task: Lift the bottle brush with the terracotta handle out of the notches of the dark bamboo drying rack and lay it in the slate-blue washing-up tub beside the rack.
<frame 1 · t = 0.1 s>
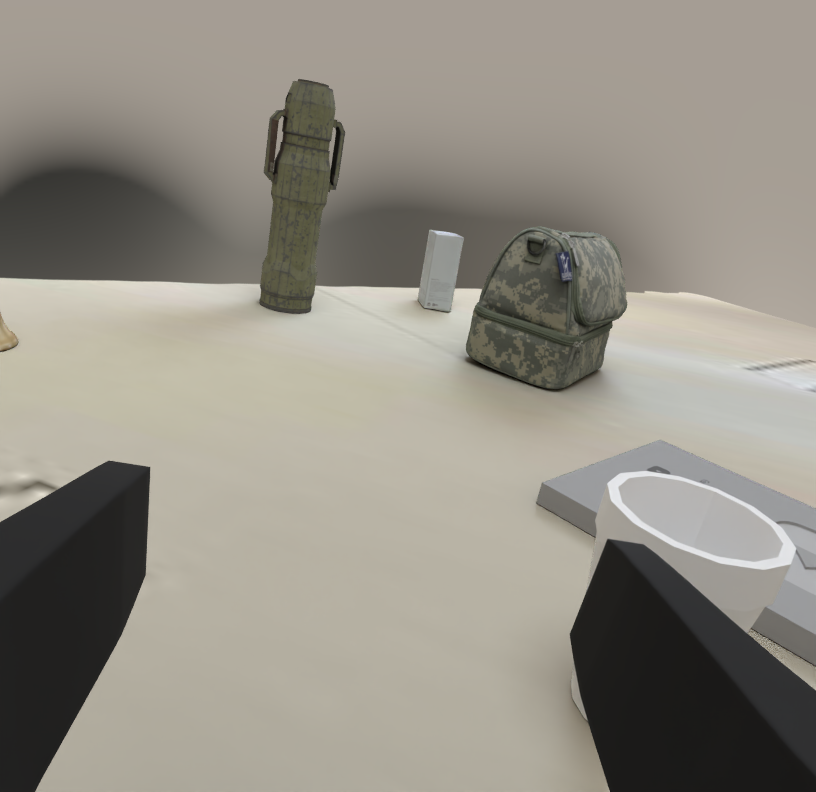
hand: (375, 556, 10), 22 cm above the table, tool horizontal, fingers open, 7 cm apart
lunch bag: (535, 367, 106), on the table
foam cup: (622, 707, 39), on the table
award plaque: (744, 551, 60), on the table
cosmetic box: (432, 306, 135), on the table
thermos: (284, 307, 112), on the table
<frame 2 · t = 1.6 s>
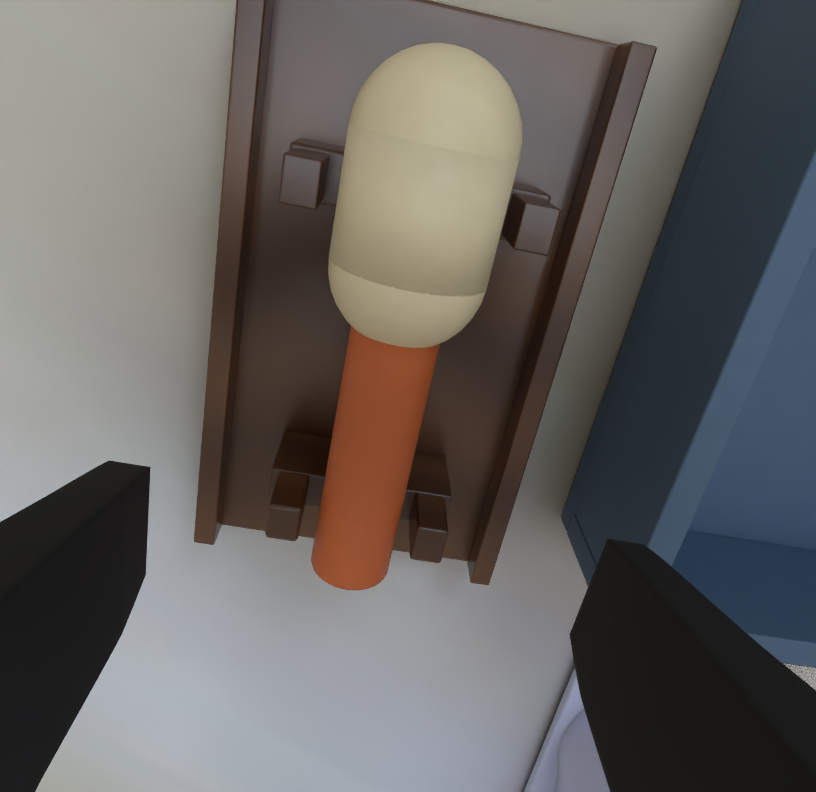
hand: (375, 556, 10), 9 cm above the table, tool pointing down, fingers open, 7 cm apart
drying rack: (390, 311, 18), on the table
bottle brush: (393, 344, 15), point 4 cm above the table, touching drying rack
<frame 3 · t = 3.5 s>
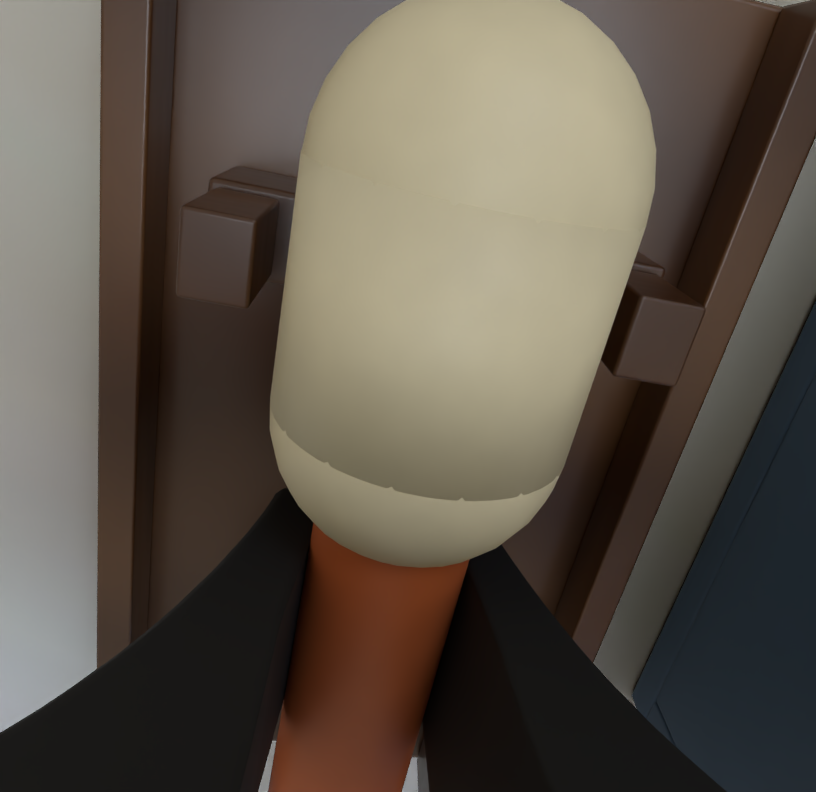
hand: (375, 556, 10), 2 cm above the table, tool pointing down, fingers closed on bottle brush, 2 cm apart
drying rack: (388, 424, 12), on the table
bottle brush: (392, 535, 8), point 4 cm above the table, touching drying rack, gripper
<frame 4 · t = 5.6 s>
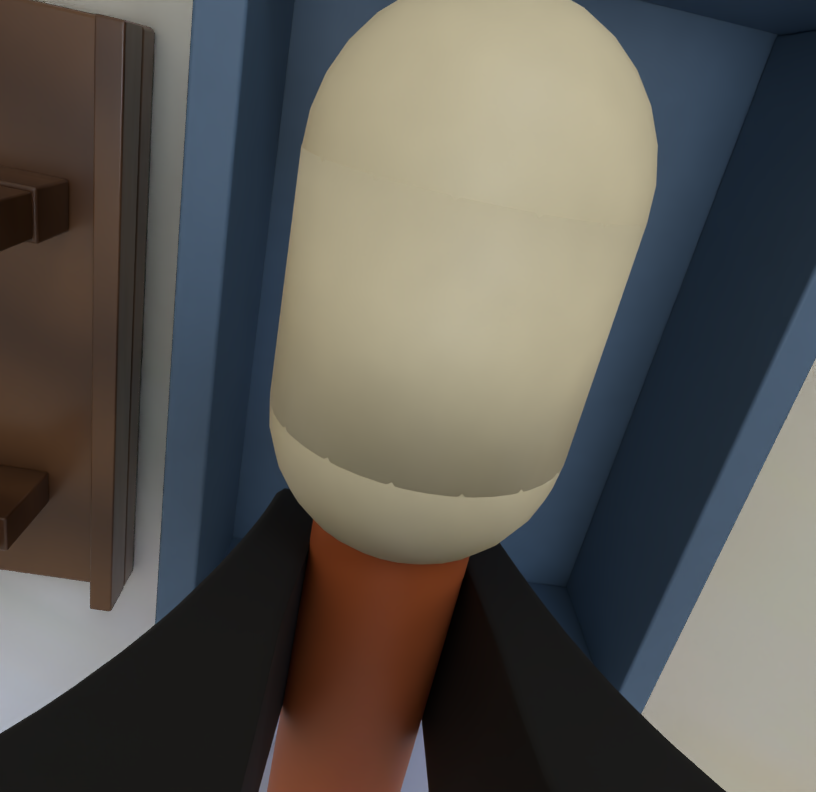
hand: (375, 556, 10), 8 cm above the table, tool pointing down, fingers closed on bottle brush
wash tub: (460, 314, 17), on the table
bottle brush: (392, 532, 8), point 10 cm above the table, touching gripper
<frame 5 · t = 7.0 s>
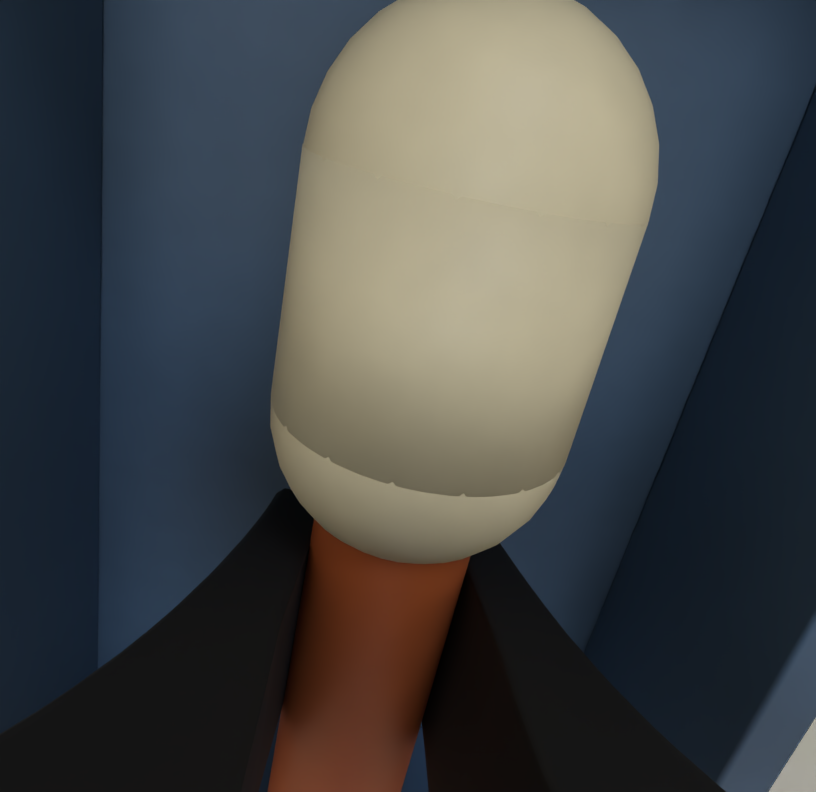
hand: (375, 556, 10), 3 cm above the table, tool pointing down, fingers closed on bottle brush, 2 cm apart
wash tub: (393, 397, 12), on the table
bottle brush: (393, 531, 8), point 4 cm above the table, touching gripper
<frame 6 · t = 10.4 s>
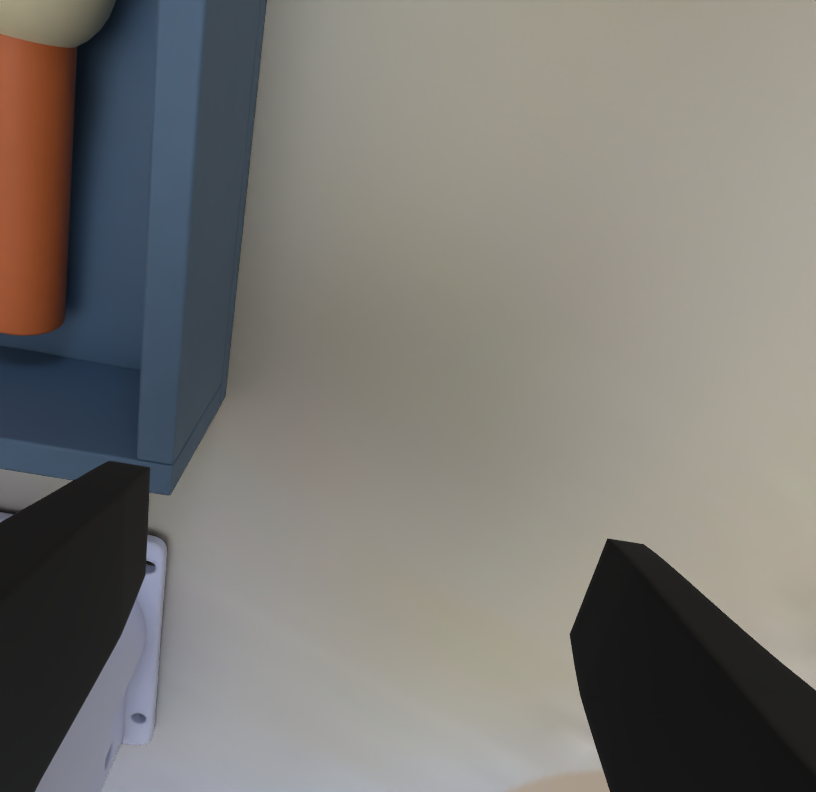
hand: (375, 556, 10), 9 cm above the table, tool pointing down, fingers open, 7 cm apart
wash tub: (10, 40, 16), on the table
bottle brush: (22, 49, 14), point 2 cm above the table, tilted 53°, touching wash tub
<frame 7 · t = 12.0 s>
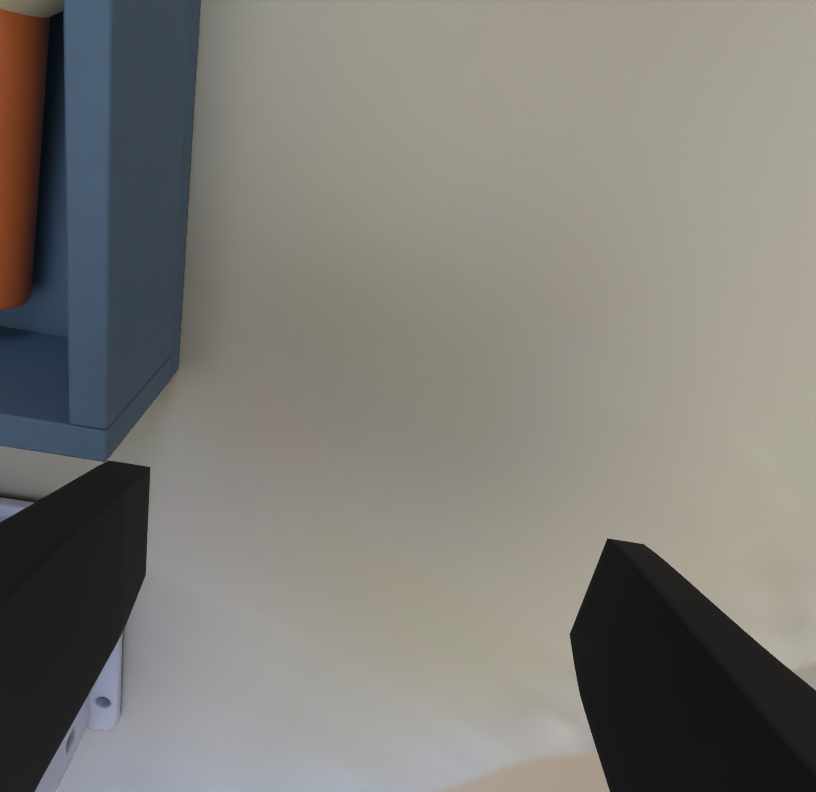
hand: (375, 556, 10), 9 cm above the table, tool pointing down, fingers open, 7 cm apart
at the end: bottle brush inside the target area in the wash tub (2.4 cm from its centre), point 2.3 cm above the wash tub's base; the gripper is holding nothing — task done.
